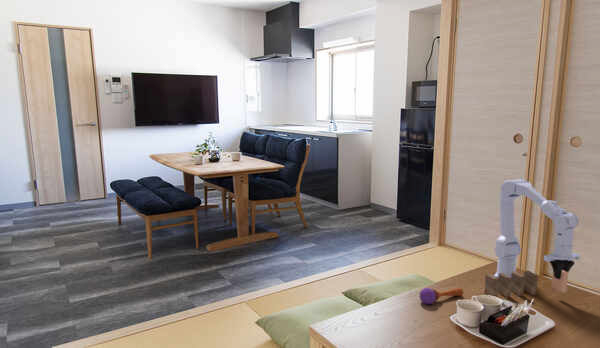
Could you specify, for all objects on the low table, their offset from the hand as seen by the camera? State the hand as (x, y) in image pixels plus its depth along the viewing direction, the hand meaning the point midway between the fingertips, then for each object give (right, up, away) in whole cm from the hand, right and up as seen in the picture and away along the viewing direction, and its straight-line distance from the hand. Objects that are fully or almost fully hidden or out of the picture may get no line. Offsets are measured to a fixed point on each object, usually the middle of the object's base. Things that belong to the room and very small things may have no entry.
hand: (559, 277), depth 161 cm
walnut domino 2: (-19, -8, +5) cm, 22 cm away
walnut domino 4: (-8, -8, +8) cm, 13 cm away
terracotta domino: (0, -5, +1) cm, 5 cm away
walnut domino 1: (-25, -8, +4) cm, 27 cm away
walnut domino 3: (-13, -8, +7) cm, 17 cm away
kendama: (-46, -9, 0) cm, 47 cm away
